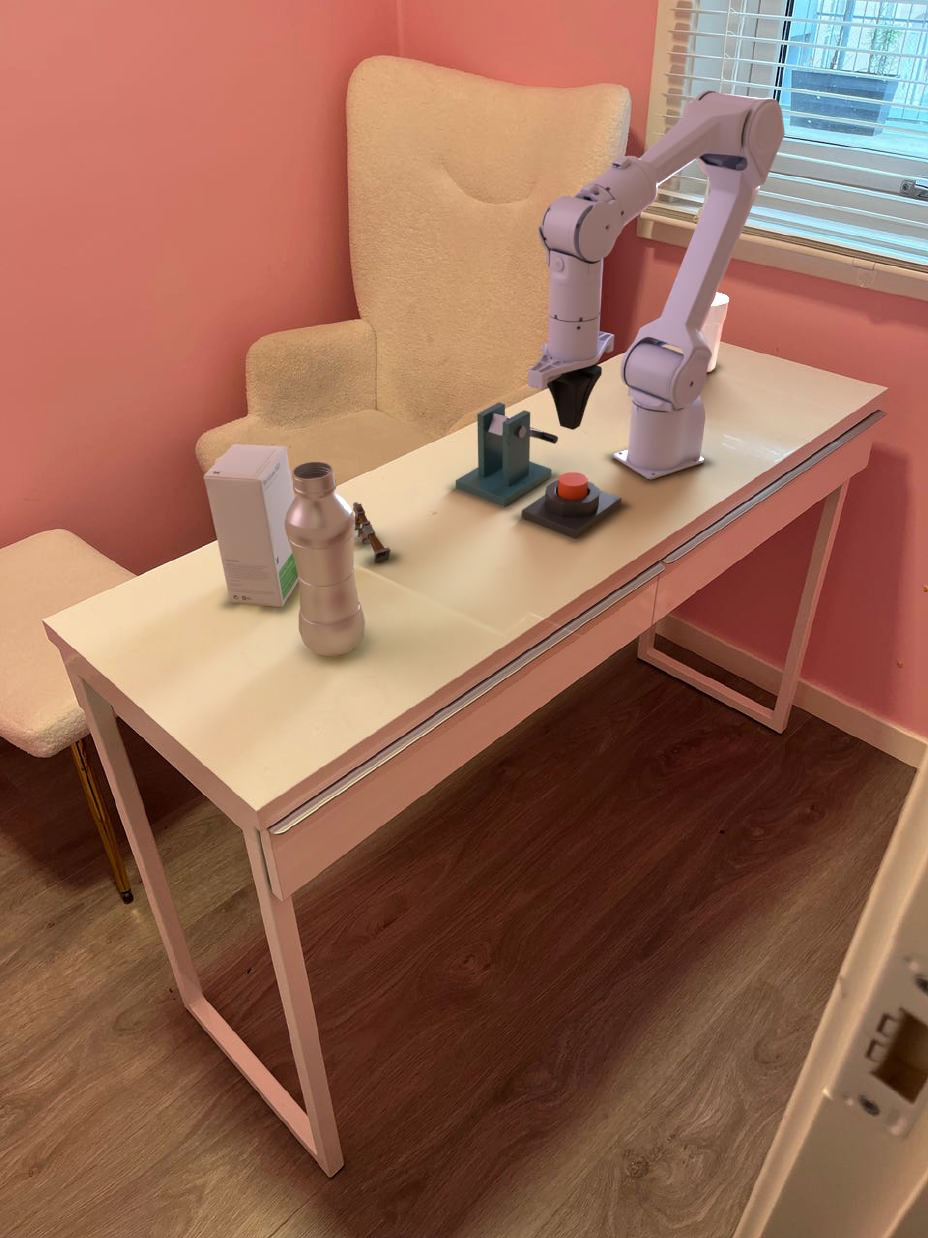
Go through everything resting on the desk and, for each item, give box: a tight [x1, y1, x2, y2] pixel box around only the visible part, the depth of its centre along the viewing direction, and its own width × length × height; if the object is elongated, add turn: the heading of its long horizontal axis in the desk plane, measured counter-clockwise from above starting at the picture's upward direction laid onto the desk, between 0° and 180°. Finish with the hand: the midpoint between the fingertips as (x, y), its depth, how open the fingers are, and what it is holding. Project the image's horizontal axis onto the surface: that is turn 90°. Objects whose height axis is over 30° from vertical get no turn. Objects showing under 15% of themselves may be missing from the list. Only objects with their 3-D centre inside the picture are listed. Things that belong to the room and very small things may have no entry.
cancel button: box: [557, 471, 589, 500], centre depth 118 cm, size 4×4×2 cm
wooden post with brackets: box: [352, 501, 391, 563], centre depth 114 cm, size 2×8×4 cm, turn 29°
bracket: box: [455, 401, 552, 507], centre depth 124 cm, size 10×8×10 cm
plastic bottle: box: [284, 461, 366, 657], centre depth 94 cm, size 6×7×20 cm
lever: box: [488, 413, 559, 445], centre depth 125 cm, size 11×5×2 cm, turn 140°
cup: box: [682, 292, 730, 373], centre depth 153 cm, size 7×7×11 cm
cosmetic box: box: [203, 443, 299, 608], centre depth 104 cm, size 8×7×16 cm
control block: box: [521, 479, 622, 540], centre depth 119 cm, size 10×8×3 cm
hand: (569, 425), depth 116 cm, fingers closed
